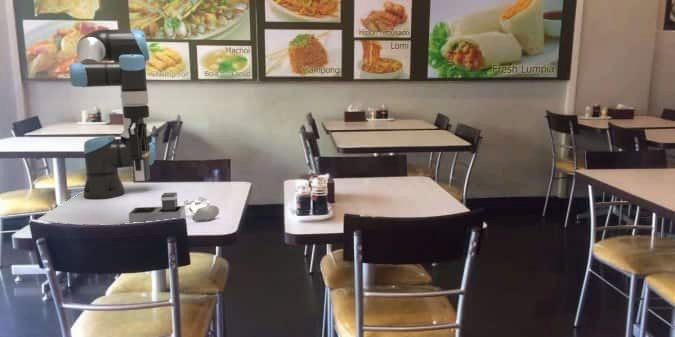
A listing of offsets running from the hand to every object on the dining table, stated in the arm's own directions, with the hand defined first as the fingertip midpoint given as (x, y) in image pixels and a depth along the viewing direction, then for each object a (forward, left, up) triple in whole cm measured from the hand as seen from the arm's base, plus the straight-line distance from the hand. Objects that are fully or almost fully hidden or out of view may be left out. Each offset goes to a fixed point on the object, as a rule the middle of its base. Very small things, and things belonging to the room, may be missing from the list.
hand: (141, 179), depth 181 cm
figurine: (-7, +17, -16) cm, 24 cm away
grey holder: (0, +4, -15) cm, 16 cm away
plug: (0, 0, 0) cm, 0 cm away
